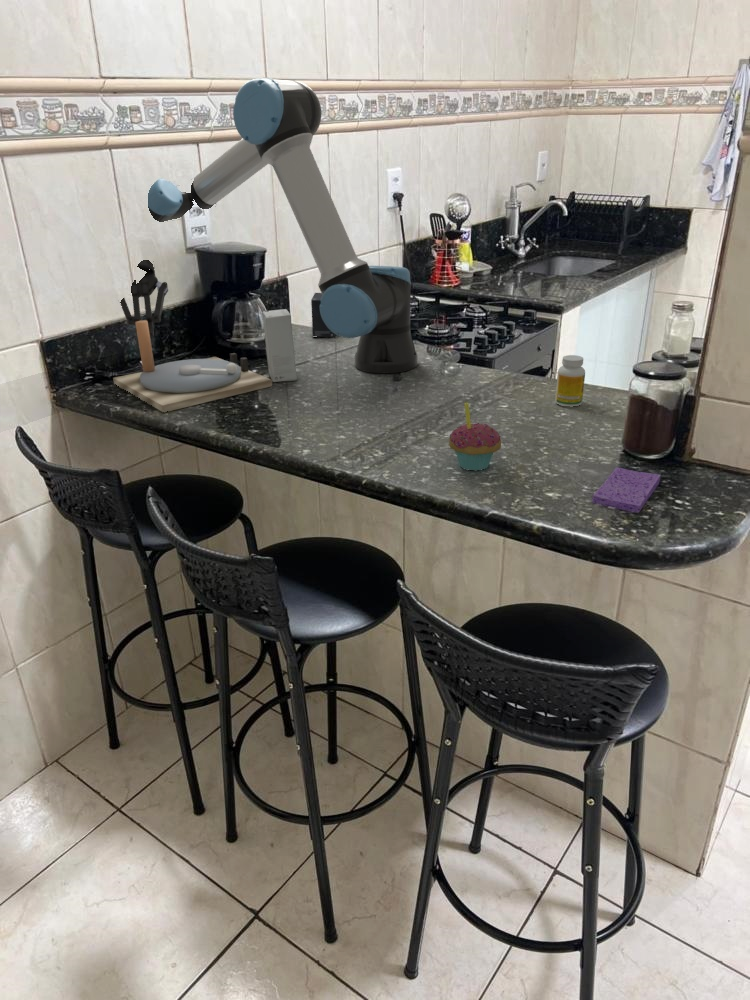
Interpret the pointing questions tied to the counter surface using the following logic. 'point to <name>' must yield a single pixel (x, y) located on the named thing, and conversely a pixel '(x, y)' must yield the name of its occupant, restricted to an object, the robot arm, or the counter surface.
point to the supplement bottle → (570, 381)
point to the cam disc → (182, 370)
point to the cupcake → (474, 443)
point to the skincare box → (279, 345)
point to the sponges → (626, 489)
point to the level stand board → (181, 400)
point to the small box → (319, 319)
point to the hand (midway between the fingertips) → (146, 347)
